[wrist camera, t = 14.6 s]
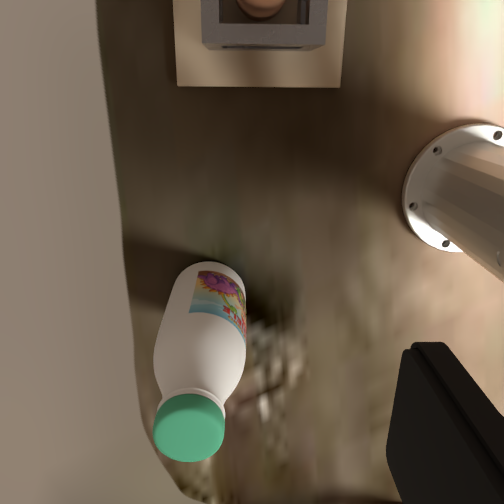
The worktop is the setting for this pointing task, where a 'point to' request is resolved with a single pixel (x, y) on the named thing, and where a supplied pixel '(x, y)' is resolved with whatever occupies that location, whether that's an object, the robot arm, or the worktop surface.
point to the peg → (260, 8)
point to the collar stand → (259, 44)
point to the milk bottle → (199, 360)
